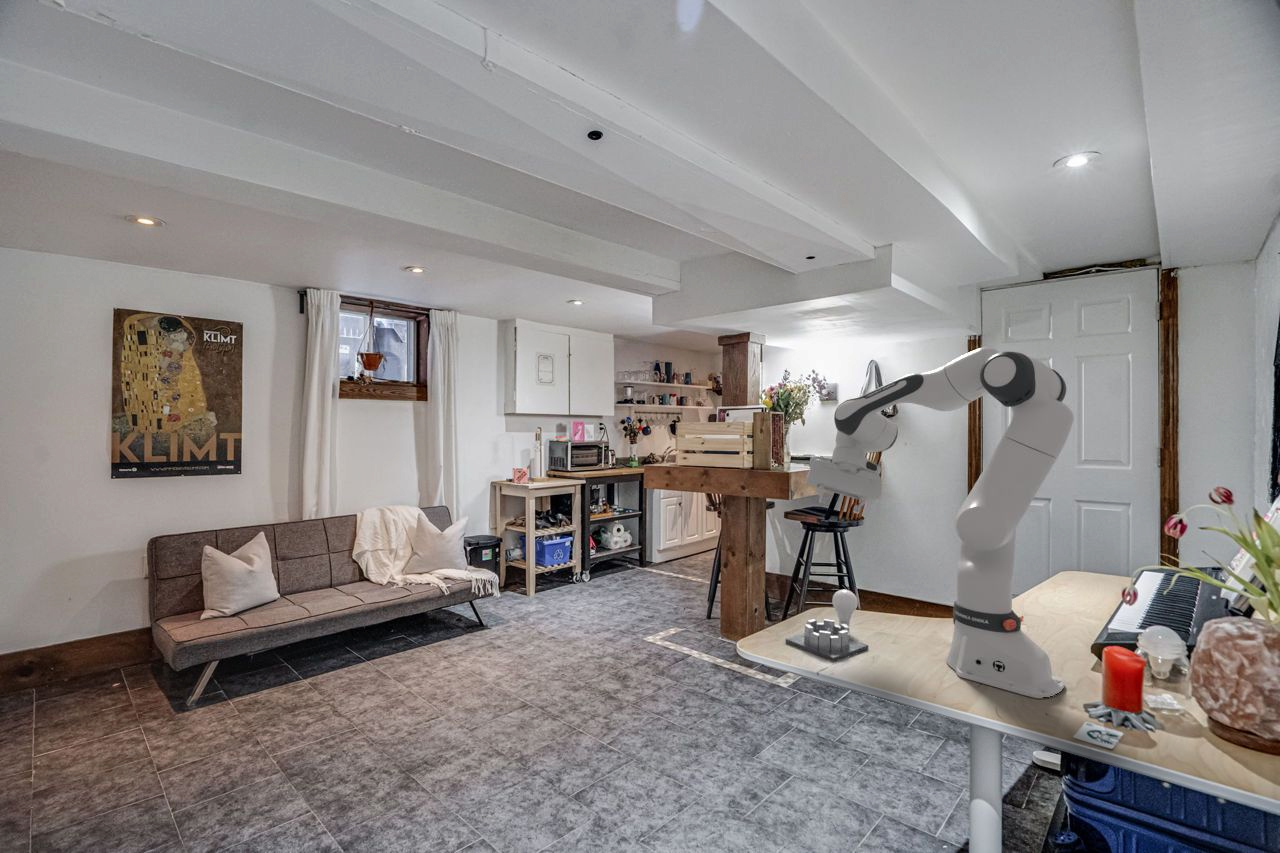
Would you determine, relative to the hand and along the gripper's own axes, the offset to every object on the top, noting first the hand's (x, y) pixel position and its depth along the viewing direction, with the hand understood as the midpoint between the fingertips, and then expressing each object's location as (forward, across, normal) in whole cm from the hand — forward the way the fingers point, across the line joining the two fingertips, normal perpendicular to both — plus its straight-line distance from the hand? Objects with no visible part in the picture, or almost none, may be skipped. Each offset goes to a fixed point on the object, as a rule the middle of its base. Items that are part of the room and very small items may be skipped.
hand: (839, 507), depth 163 cm
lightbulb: (+30, +9, +11) cm, 33 cm away
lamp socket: (+37, +3, +1) cm, 37 cm away
